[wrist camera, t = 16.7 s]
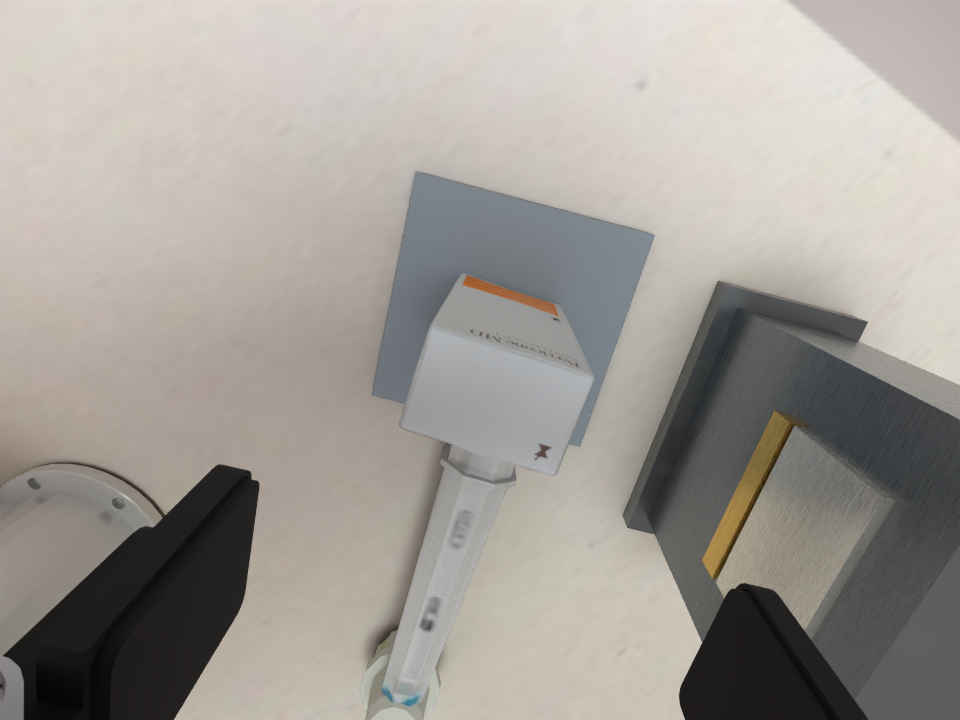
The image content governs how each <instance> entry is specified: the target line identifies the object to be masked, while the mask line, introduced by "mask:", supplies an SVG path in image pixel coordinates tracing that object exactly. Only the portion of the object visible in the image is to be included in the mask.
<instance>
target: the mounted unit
mask: <svg viewBox="0 0 960 720" xmlns="http://www.w3.org/2000/svg"><path fill="white" fill-rule="evenodd" d="M867 323H868V322H867V321H864V320H862V319H859V318H856V317H853V316H849V315H846V314H842V313H838V312H834V311H830V310H827V309H823V308H819V307H815V306H811V305H808V304H804V303H800V302H796V301H792V300H789V299H785V298H781V297H777V296H773V295H770V294H766V293H762V292H758V291H754V290H751V289H747V288H743V287H739V286H735V285H732V284H728V283H724V282H720V281H718V284H717V286H716V289H715V291H714V294H713V296H712V299H711V301H710V304H709V306H708V308H707V311H706V313H705V316H704V318H703V321H702V323H701V326H700V328H699V331H698V333H697V336H696V338H695V340H694V343H693V345H692V348H691V350H690V353H689V355H688V358H687V360H686V363H685V365H684V367H683V370H682V372H681V375H680V377H679V380H678V382H677V385H676V387H675V390H674V392H673V394H672V397H671V399H670V402H669V404H668V407H667V409H666V412H665V414H664V417H663V419H662V421H661V424H660V426H659V429H658V431H657V434H656V436H655V439H654V441H653V444H652V446H651V449H650V451H649V453H648V456H647V458H646V461H645V463H644V466H643V468H642V471H641V473H640V476H639V478H638V480H637V483H636V485H635V488H634V490H633V493H632V495H631V498H630V500H629V503H628V505H627V507H626V510H625V512H624V515H623V518H624V520H625V523H626V526H627V528H631V529H635V530H639V531H643V532H647V533H651V534H655V536H656V538H657V541H658V543H659V545H660V547H661V550H662V552H663V554H664V557H665V559H666V561H667V563H668V566H669V568H670V570H671V572H672V575H673V577H674V579H675V582H676V584H677V586H678V588H679V591H680V593H681V595H682V597H683V600H684V602H685V604H686V607H687V609H688V611H689V613H690V616H691V618H692V620H693V622H694V625H695V627H696V629H697V632H698V634H699V636H700V638H701V641H702V643H703V641H704V639H705V637H706V634H707V632H708V630H709V628H710V626H711V624H712V622H713V620H714V618H715V616H716V614H717V612H718V610H719V608H720V606H721V604H722V602H723V600H724V598H725V596H726V594H727V593H728V591H729V590H731V589H735V588H736V587H737V586H738V585H739V584H741V583H747V584H751V585H755V586H760V587H764V588H769V589H772V590H774V591H775V592H776V593H777V594H778V595H779V596H780V598H781V599H782V600H783V602H784V603H785V605H786V606H787V607H788V609H789V610H790V611H791V613H792V614H793V616H794V617H795V618H796V620H797V621H798V623H799V624H800V625H801V627H802V628H803V629H804V631H805V632H806V634H807V635H808V636H809V638H810V639H811V640H812V642H813V643H814V645H815V646H816V647H817V649H818V650H819V652H820V653H821V654H822V656H823V657H824V658H825V660H826V661H827V663H828V664H829V665H830V667H831V668H832V670H833V671H834V672H835V674H836V675H837V676H838V678H839V679H840V681H841V682H842V683H843V685H844V686H845V687H846V689H847V690H848V692H849V693H850V694H851V696H852V697H853V699H854V700H855V701H856V703H857V704H858V705H859V707H860V708H861V710H862V711H863V712H864V714H865V715H866V717H867V718H868V719H869V720H960V385H958V384H956V383H953V382H951V381H949V380H946V379H944V378H942V377H939V376H937V375H935V374H932V373H930V372H928V371H925V370H923V369H921V368H918V367H916V366H914V365H912V364H909V363H907V362H905V361H902V360H900V359H898V358H895V357H893V356H891V355H888V354H886V353H884V352H881V351H879V350H877V349H874V348H872V347H870V346H867V345H865V344H863V343H860V342H858V341H859V339H860V337H861V335H862V333H863V331H864V329H865V327H866V325H867Z"/></svg>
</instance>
